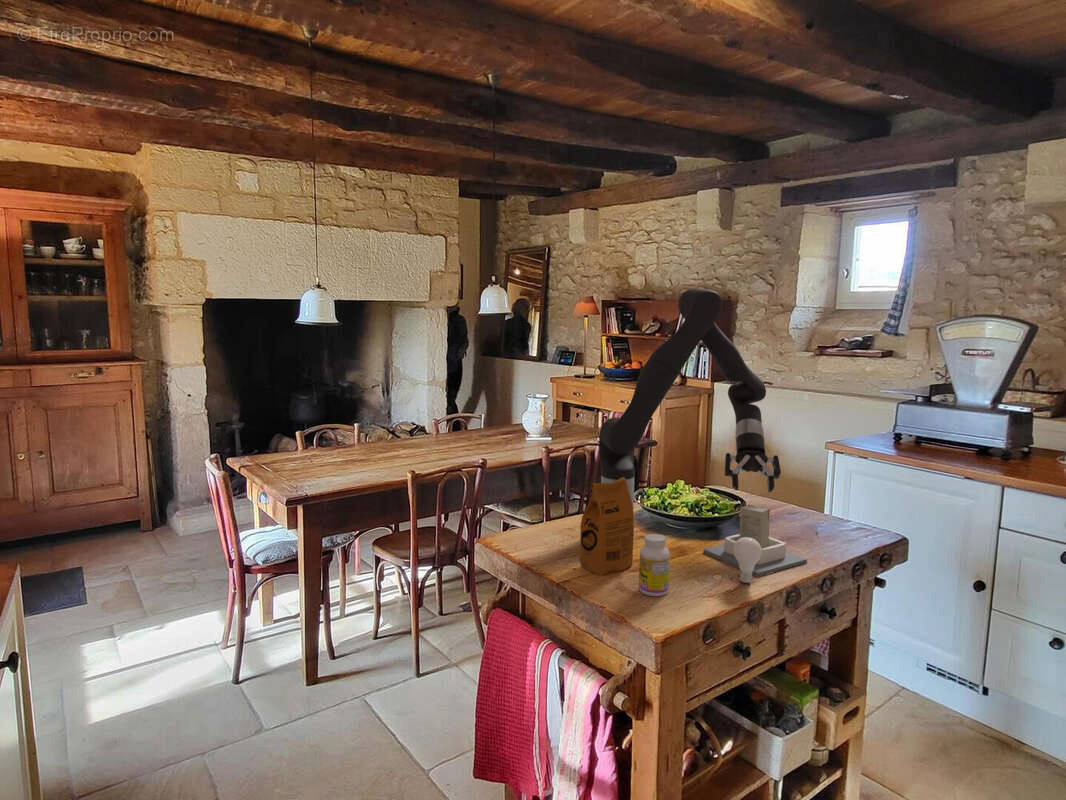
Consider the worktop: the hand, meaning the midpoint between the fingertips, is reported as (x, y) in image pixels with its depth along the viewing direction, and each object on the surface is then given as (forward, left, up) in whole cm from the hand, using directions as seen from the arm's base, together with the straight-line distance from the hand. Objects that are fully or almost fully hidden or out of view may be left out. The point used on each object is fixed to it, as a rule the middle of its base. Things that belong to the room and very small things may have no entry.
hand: (753, 489), depth 174 cm
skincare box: (-4, -5, -15) cm, 17 cm away
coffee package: (-41, +9, -16) cm, 45 cm away
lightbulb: (-18, -15, -16) cm, 29 cm away
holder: (-4, -5, -16) cm, 18 cm away
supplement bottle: (-40, -8, -16) cm, 44 cm away
